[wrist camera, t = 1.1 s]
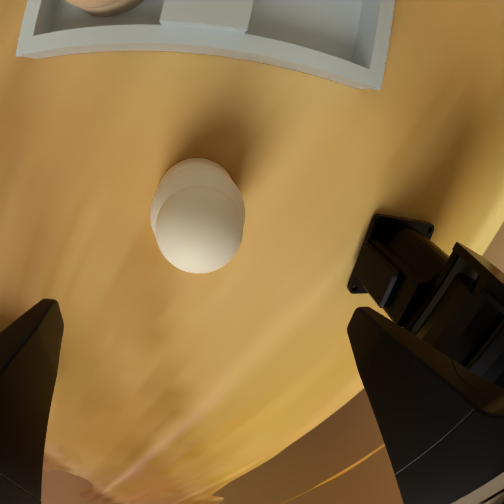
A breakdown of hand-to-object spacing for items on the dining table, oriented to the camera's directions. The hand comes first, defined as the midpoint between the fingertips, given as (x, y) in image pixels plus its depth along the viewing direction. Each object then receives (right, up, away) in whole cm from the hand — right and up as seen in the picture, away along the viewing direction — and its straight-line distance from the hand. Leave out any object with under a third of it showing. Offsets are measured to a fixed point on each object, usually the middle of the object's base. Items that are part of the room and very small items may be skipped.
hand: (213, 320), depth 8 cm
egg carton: (-1, +15, +2) cm, 16 cm away
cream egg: (-2, +5, +8) cm, 10 cm away
